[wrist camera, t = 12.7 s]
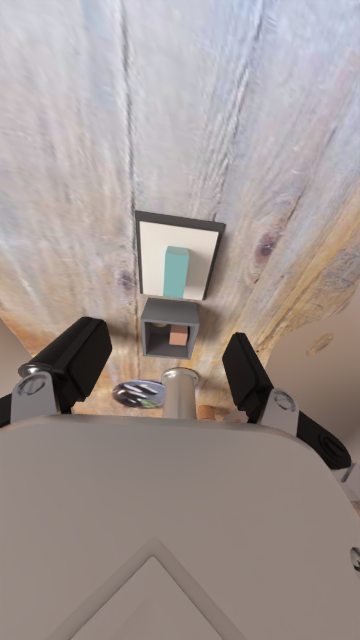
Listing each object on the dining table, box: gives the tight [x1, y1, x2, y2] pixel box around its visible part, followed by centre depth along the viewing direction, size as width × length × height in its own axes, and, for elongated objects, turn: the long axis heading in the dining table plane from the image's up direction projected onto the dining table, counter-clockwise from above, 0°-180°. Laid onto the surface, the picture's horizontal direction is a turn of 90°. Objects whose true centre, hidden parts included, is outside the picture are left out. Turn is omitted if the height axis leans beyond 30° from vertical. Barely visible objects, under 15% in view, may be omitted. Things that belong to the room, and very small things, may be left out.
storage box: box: [141, 298, 200, 360], centre depth 29 cm, size 10×10×7 cm
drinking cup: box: [18, 317, 93, 379], centre depth 26 cm, size 8×8×20 cm
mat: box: [135, 211, 225, 300], centre depth 24 cm, size 13×13×1 cm
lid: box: [140, 221, 218, 300], centre depth 22 cm, size 11×11×6 cm
